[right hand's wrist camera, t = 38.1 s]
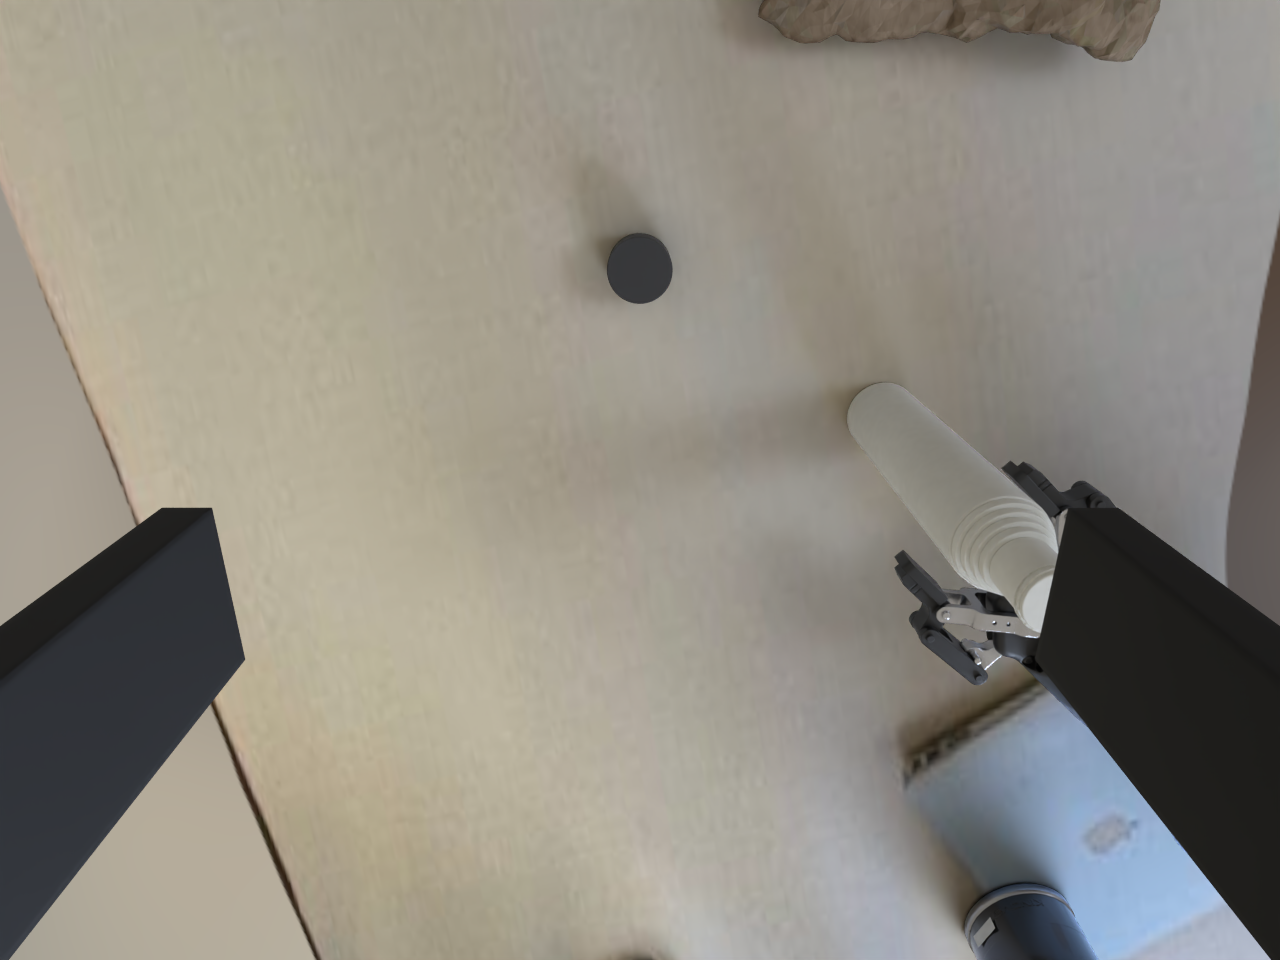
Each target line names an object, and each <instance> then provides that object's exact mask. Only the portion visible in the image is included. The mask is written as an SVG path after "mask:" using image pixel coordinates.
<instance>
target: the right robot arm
mask: <svg viewBox="0 0 1280 960" xmlns="http://www.w3.org/2000/svg"><path fill="white" fill-rule="evenodd" d="M244 660H245V656H244V652H243V647H242V643H241V638H240V633H239V629H238V624H237V620H236V615H235V611H234V606H233V602H232V597H231V592H230V588H229V583H228V579H227V574H226V570H225V565H224V561H223V556H222V551H221V547H220V542H219V538H218V533H217V529H216V524H215V520H214V515H213V510H212V508H161V509H160V510H158V511H157V512H156V513H154V514H153V515H151V516H150V517H149V518H147V519H146V520H145V521H143V522H142V523H141V524H139V525H138V526H136V527H135V528H134V529H132V530H131V531H130V532H128V533H127V534H126V535H124V536H123V537H121V538H120V539H119V540H117V541H116V542H115V543H113V544H112V545H111V546H109V547H108V548H106V549H105V550H104V551H102V552H101V553H100V554H98V555H97V556H96V557H94V558H93V559H91V560H90V561H89V562H87V563H86V564H85V565H83V566H82V567H81V568H79V569H78V570H76V571H75V572H74V573H72V574H71V575H69V576H68V577H67V578H65V579H64V580H63V581H61V582H60V583H59V584H57V585H56V586H54V587H53V588H52V589H50V590H49V591H48V592H46V593H45V594H44V595H42V596H41V597H39V598H38V599H37V600H35V601H34V602H33V603H31V604H30V605H28V606H27V607H26V608H24V609H23V610H22V611H20V612H19V613H18V614H16V615H15V616H13V617H12V618H11V619H9V620H8V621H7V622H5V623H4V624H3V625H1V626H0V960H9V959H10V958H11V956H12V955H13V954H14V953H15V951H16V950H17V949H18V947H19V946H20V945H21V944H22V942H23V941H24V940H25V939H26V937H27V936H28V935H29V933H30V932H31V931H32V930H33V928H34V927H35V926H36V925H37V923H38V922H39V921H40V919H41V918H42V917H43V916H44V914H45V913H46V912H47V911H48V909H49V908H50V907H51V906H52V904H53V903H54V902H55V900H56V899H57V898H58V897H59V895H60V894H61V893H62V892H63V890H64V889H65V888H66V886H67V885H68V884H69V883H70V881H71V880H72V879H73V878H74V876H75V875H76V874H77V872H78V871H79V870H80V869H81V867H82V866H83V865H84V864H85V862H86V861H87V860H88V858H89V857H90V856H91V855H92V853H93V852H94V851H95V850H96V848H97V847H98V846H99V845H100V843H101V842H102V841H103V839H104V838H105V837H106V836H107V834H108V833H109V832H110V831H111V829H112V828H113V827H114V825H115V824H116V823H117V822H118V820H119V819H120V818H121V817H122V815H123V814H124V813H125V811H126V810H127V809H128V808H129V806H130V805H131V804H132V803H133V801H134V800H135V799H136V798H137V796H138V795H139V794H140V792H141V791H142V790H143V789H144V787H145V786H146V785H147V784H148V782H149V781H150V780H151V778H152V777H153V776H154V775H155V773H156V772H157V771H158V770H159V768H160V767H161V766H162V765H163V763H164V762H165V761H166V759H167V758H168V757H169V756H170V754H171V753H172V752H173V751H174V749H175V748H176V747H177V745H178V744H179V743H180V742H181V740H182V739H183V738H184V737H185V735H186V734H187V733H188V732H189V730H190V729H191V728H192V726H193V725H194V724H195V722H196V721H197V720H198V719H199V717H200V716H201V715H202V714H203V712H204V711H205V710H206V709H207V707H208V706H209V705H210V704H211V702H212V701H213V700H214V698H215V697H216V696H217V695H218V693H219V692H220V691H221V690H222V688H223V687H224V686H225V685H226V683H227V682H228V681H229V679H230V678H231V677H232V676H233V674H234V673H235V672H236V671H237V669H238V668H239V667H240V665H241V664H242V663H243V662H244ZM1035 660H1036V662H1037V663H1038V664H1039V665H1040V667H1041V668H1042V669H1043V671H1044V672H1045V673H1046V674H1047V676H1048V677H1049V678H1050V679H1051V681H1052V682H1053V683H1054V685H1055V686H1056V687H1057V688H1058V690H1059V691H1060V692H1061V693H1062V695H1063V696H1064V697H1065V698H1066V700H1067V701H1068V702H1069V704H1070V705H1071V706H1072V707H1073V709H1074V710H1075V711H1076V712H1077V714H1078V715H1079V716H1080V718H1081V719H1082V720H1083V721H1084V723H1085V724H1086V725H1087V726H1088V728H1089V729H1090V730H1091V732H1092V733H1093V734H1094V735H1095V737H1096V738H1097V739H1098V740H1099V742H1100V743H1101V744H1102V745H1103V747H1104V748H1105V749H1106V751H1107V752H1108V753H1109V754H1110V756H1111V757H1112V758H1113V759H1114V761H1115V762H1116V763H1117V765H1118V766H1119V767H1120V768H1121V770H1122V771H1123V772H1124V773H1125V775H1126V776H1127V777H1128V779H1129V780H1130V781H1131V782H1132V784H1133V785H1134V786H1135V787H1136V789H1137V790H1138V791H1139V792H1140V794H1141V795H1142V796H1143V798H1144V799H1145V800H1146V801H1147V803H1148V804H1149V805H1150V806H1151V808H1152V809H1153V810H1154V812H1155V813H1156V814H1157V815H1158V817H1159V818H1160V819H1161V820H1162V822H1163V823H1164V824H1165V825H1166V827H1167V828H1168V829H1169V831H1170V832H1171V833H1172V834H1173V836H1174V837H1175V838H1176V839H1177V841H1178V842H1179V843H1180V845H1181V846H1182V847H1183V848H1184V850H1185V851H1186V852H1187V853H1188V855H1189V856H1190V857H1191V859H1192V860H1193V861H1194V862H1195V864H1196V865H1197V866H1198V867H1199V869H1200V870H1201V871H1202V872H1203V874H1204V875H1205V876H1206V878H1207V879H1208V880H1209V881H1210V883H1211V884H1212V885H1213V886H1214V888H1215V889H1216V890H1217V892H1218V893H1219V894H1220V895H1221V897H1222V898H1223V899H1224V900H1225V902H1226V903H1227V904H1228V906H1229V907H1230V908H1231V909H1232V911H1233V912H1234V913H1235V914H1236V916H1237V917H1238V918H1239V919H1240V921H1241V922H1242V923H1243V925H1244V926H1245V927H1246V928H1247V930H1248V931H1249V932H1250V933H1251V935H1252V936H1253V937H1254V939H1255V940H1256V941H1257V942H1258V944H1259V945H1260V946H1261V947H1262V949H1263V950H1264V951H1265V953H1266V954H1267V955H1268V956H1269V958H1270V959H1271V960H1280V626H1279V625H1277V624H1276V623H1275V622H1273V621H1272V620H1271V619H1269V618H1268V617H1267V616H1265V615H1264V614H1262V613H1261V612H1260V611H1258V610H1257V609H1256V608H1254V607H1253V606H1251V605H1250V604H1249V603H1247V602H1246V601H1245V600H1243V599H1242V598H1241V597H1239V596H1238V595H1236V594H1235V593H1234V592H1232V591H1231V590H1230V589H1228V588H1227V587H1226V586H1224V585H1223V584H1221V583H1220V582H1219V581H1217V580H1216V579H1215V578H1213V577H1212V576H1211V575H1209V574H1208V573H1206V572H1205V571H1204V570H1202V569H1201V568H1200V567H1198V566H1197V565H1195V564H1194V563H1193V562H1191V561H1190V560H1189V559H1187V558H1186V557H1185V556H1183V555H1182V554H1180V553H1179V552H1178V551H1176V550H1175V549H1174V548H1172V547H1171V546H1170V545H1168V544H1167V543H1165V542H1164V541H1163V540H1161V539H1160V538H1159V537H1157V536H1156V535H1154V534H1153V533H1152V532H1150V531H1149V530H1148V529H1146V528H1145V527H1144V526H1142V525H1141V524H1139V523H1138V522H1137V521H1135V520H1134V519H1133V518H1131V517H1130V516H1129V515H1127V514H1126V513H1124V512H1123V511H1122V510H1120V509H1119V508H1068V510H1067V515H1066V520H1065V524H1064V529H1063V533H1062V538H1061V542H1060V547H1059V551H1058V556H1057V561H1056V565H1055V570H1054V574H1053V579H1052V583H1051V588H1050V592H1049V597H1048V602H1047V606H1046V611H1045V615H1044V620H1043V624H1042V629H1041V633H1040V638H1039V643H1038V647H1037V652H1036V656H1035Z"/></svg>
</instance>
